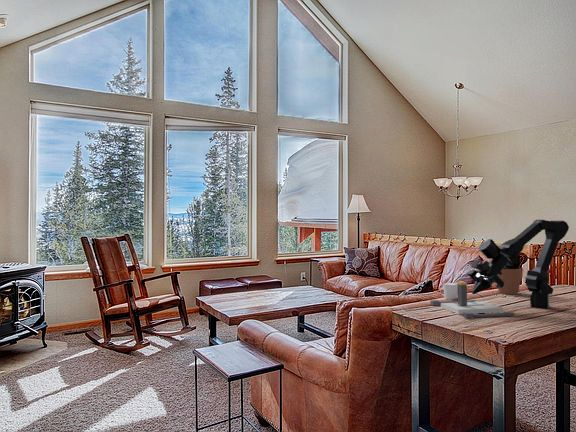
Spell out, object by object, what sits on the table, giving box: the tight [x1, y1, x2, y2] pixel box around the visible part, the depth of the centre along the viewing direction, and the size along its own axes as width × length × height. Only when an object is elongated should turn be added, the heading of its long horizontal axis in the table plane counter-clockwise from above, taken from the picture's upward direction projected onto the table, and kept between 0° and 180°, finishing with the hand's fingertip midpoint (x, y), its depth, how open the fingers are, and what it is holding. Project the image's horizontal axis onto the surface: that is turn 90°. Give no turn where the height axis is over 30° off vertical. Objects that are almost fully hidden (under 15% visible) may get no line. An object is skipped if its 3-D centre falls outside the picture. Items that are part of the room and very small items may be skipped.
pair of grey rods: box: [430, 299, 515, 320], centre depth 186 cm, size 21×28×2 cm
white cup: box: [442, 282, 458, 300], centre depth 214 cm, size 7×7×7 cm
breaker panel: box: [440, 300, 504, 315], centre depth 186 cm, size 20×14×2 cm
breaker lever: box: [456, 280, 468, 306], centre depth 186 cm, size 2×3×10 cm
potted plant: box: [497, 253, 524, 296], centre depth 227 cm, size 14×14×25 cm
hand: (472, 293), depth 186 cm, fingers closed
